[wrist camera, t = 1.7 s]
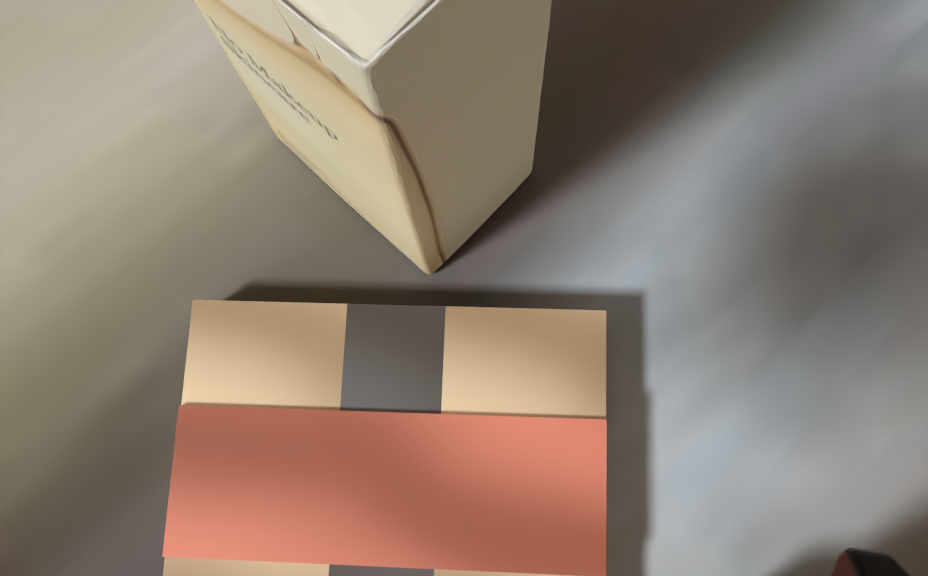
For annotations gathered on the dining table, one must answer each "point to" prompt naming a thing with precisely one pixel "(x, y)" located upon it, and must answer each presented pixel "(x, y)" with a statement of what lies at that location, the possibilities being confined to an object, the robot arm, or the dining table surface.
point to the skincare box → (399, 103)
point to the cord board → (389, 442)
